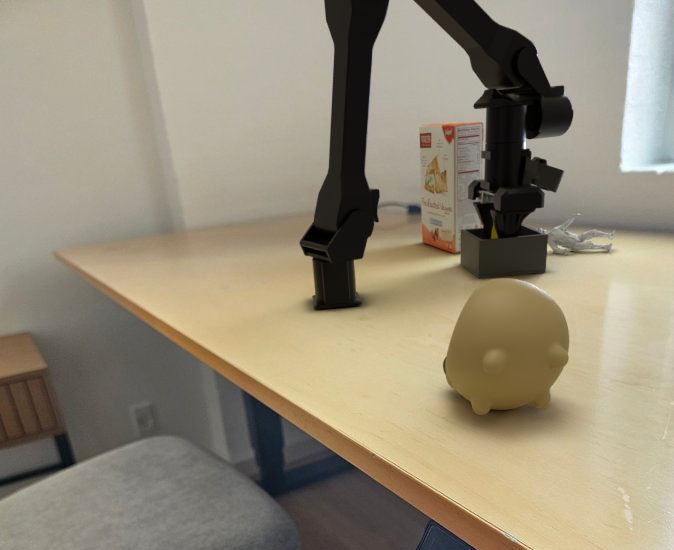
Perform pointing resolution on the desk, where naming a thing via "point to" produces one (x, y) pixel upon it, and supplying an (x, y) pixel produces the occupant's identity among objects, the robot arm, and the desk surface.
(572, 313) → the desk surface
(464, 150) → the cracker box
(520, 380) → the toy pig
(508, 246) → the basket
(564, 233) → the soldier figure
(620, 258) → the desk surface
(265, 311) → the desk surface
